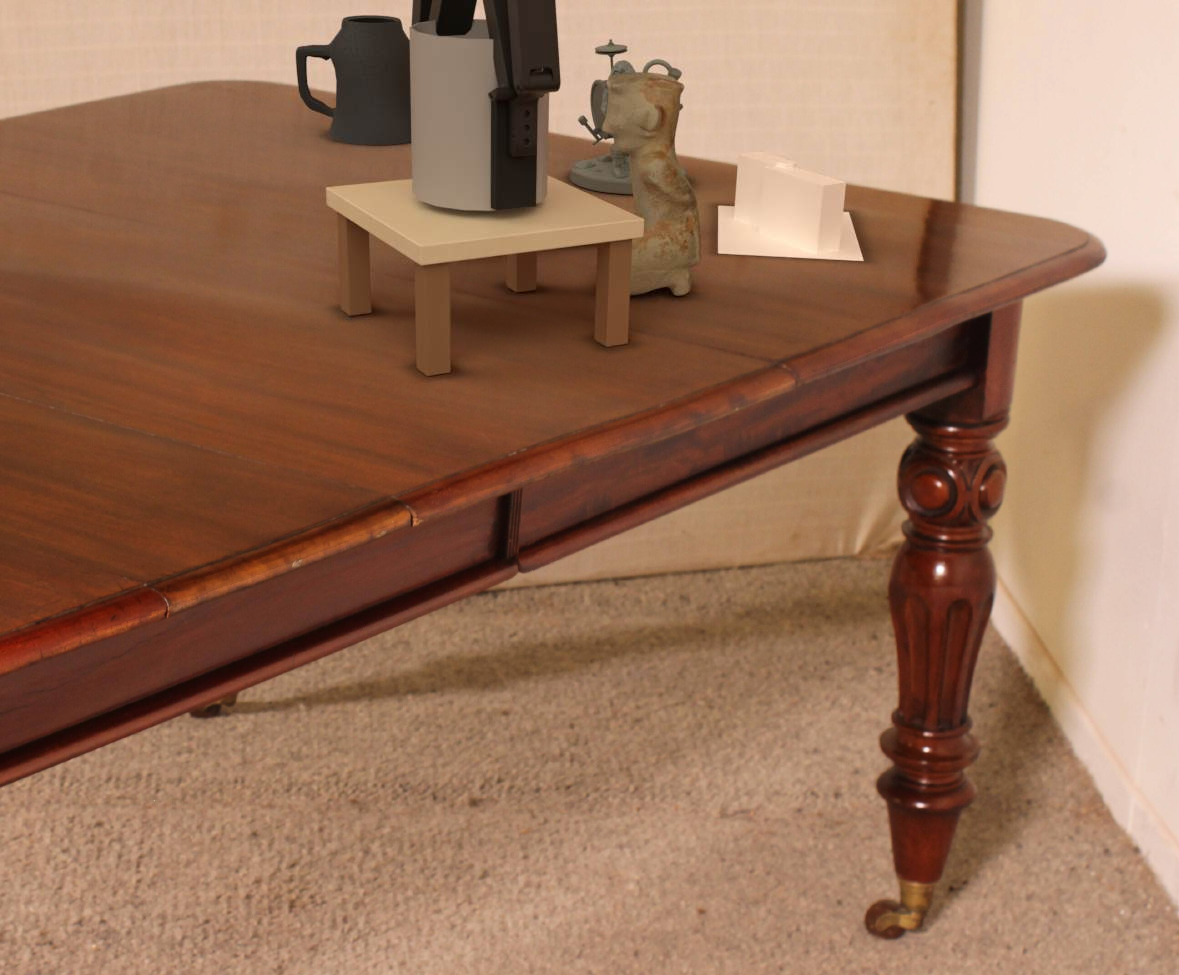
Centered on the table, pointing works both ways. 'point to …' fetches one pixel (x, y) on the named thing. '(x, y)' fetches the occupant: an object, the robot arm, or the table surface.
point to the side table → (479, 252)
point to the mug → (365, 81)
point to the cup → (458, 118)
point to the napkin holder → (786, 213)
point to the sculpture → (655, 180)
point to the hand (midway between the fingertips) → (480, 189)
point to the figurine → (609, 169)
